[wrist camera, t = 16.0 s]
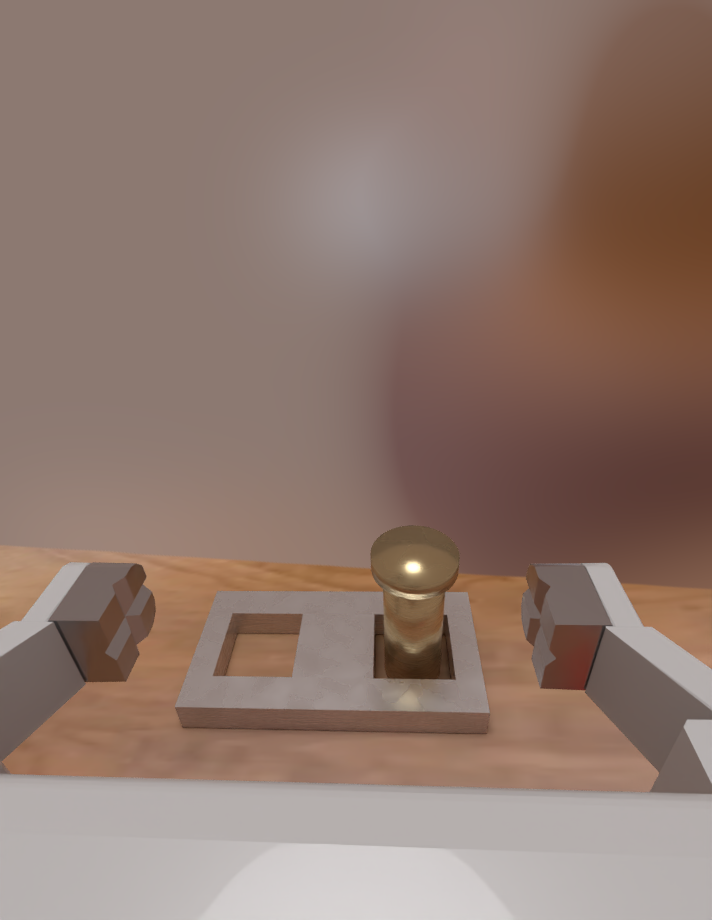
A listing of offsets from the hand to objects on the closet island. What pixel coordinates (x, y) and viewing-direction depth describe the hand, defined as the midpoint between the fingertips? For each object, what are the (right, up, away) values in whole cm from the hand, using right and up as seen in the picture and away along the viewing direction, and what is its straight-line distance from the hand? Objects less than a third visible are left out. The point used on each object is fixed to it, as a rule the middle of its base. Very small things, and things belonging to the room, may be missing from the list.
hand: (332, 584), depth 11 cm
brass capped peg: (+5, -14, +30) cm, 34 cm away
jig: (-1, -14, +31) cm, 34 cm away
